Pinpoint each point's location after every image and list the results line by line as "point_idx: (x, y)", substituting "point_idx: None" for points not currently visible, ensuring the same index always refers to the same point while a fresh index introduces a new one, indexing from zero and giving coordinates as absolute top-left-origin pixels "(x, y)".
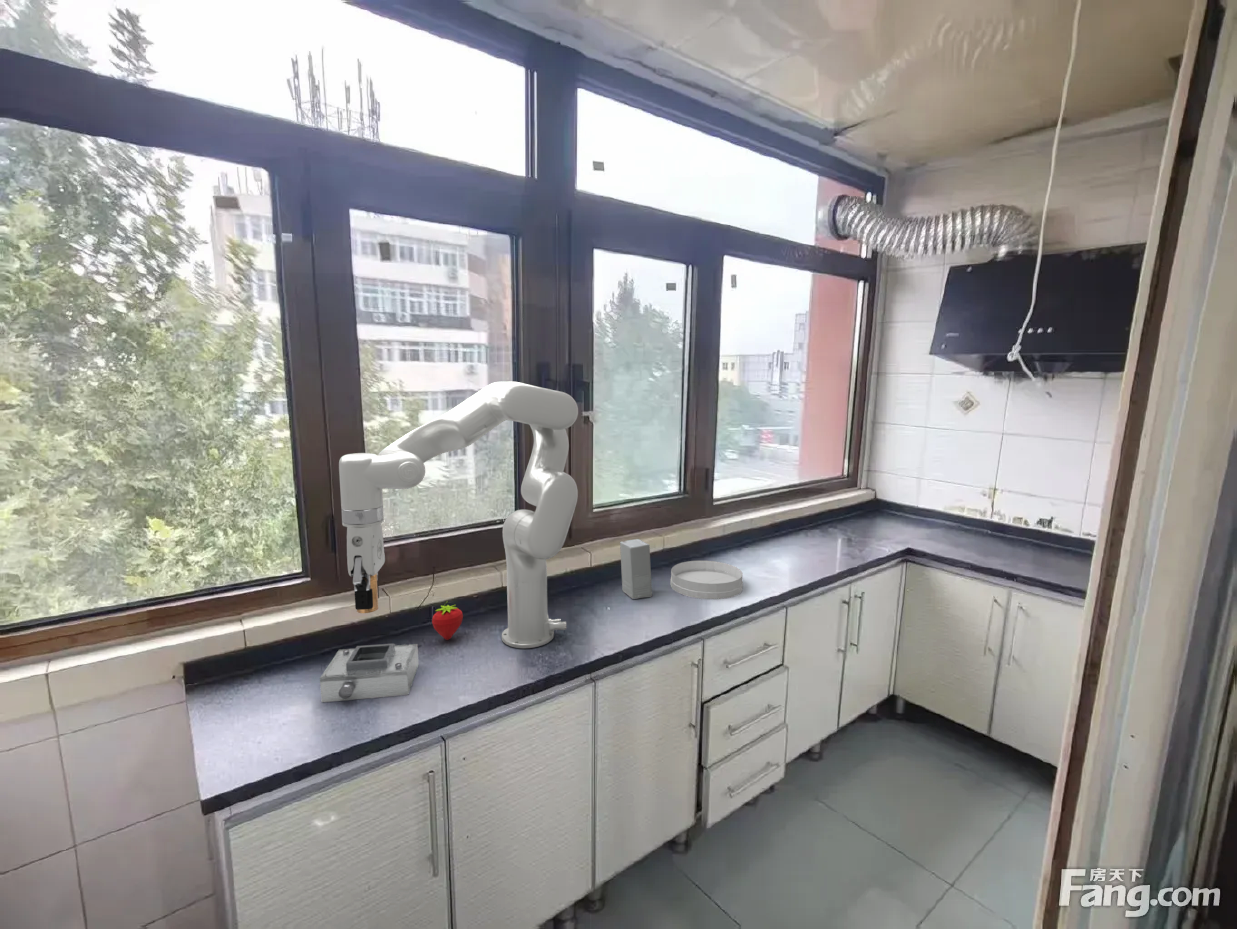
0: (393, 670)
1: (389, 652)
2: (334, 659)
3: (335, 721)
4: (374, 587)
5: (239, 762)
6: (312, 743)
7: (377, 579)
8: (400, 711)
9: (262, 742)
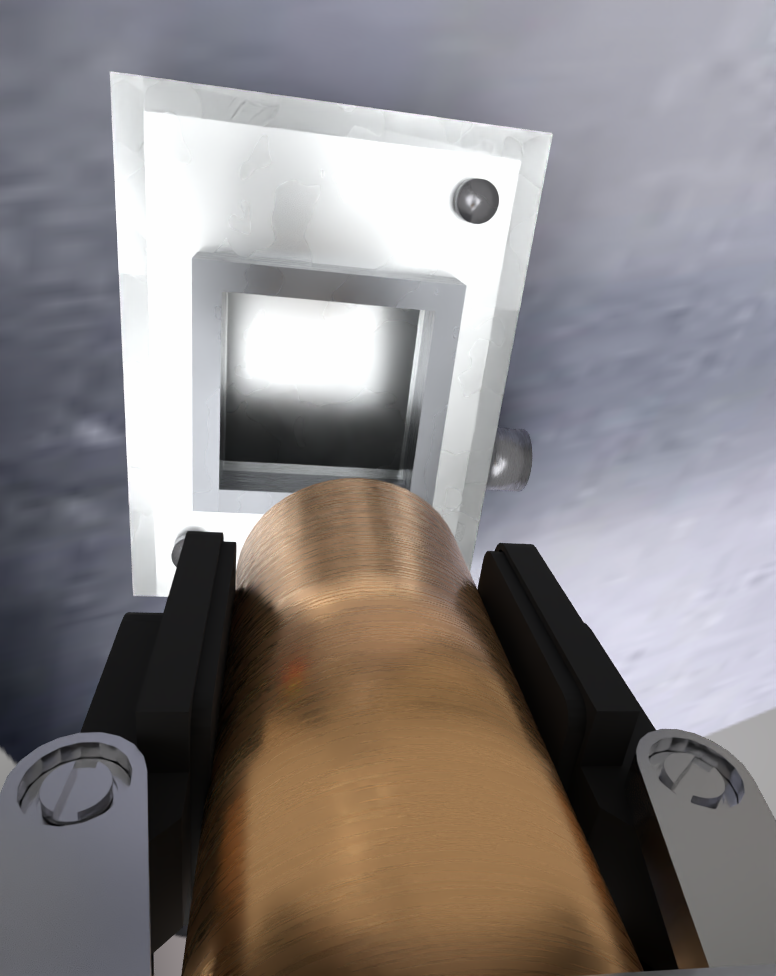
0: (510, 230)
1: (344, 281)
2: None
3: (610, 452)
4: (488, 690)
5: (721, 670)
6: (725, 498)
7: (77, 736)
8: (650, 170)
9: (640, 648)
